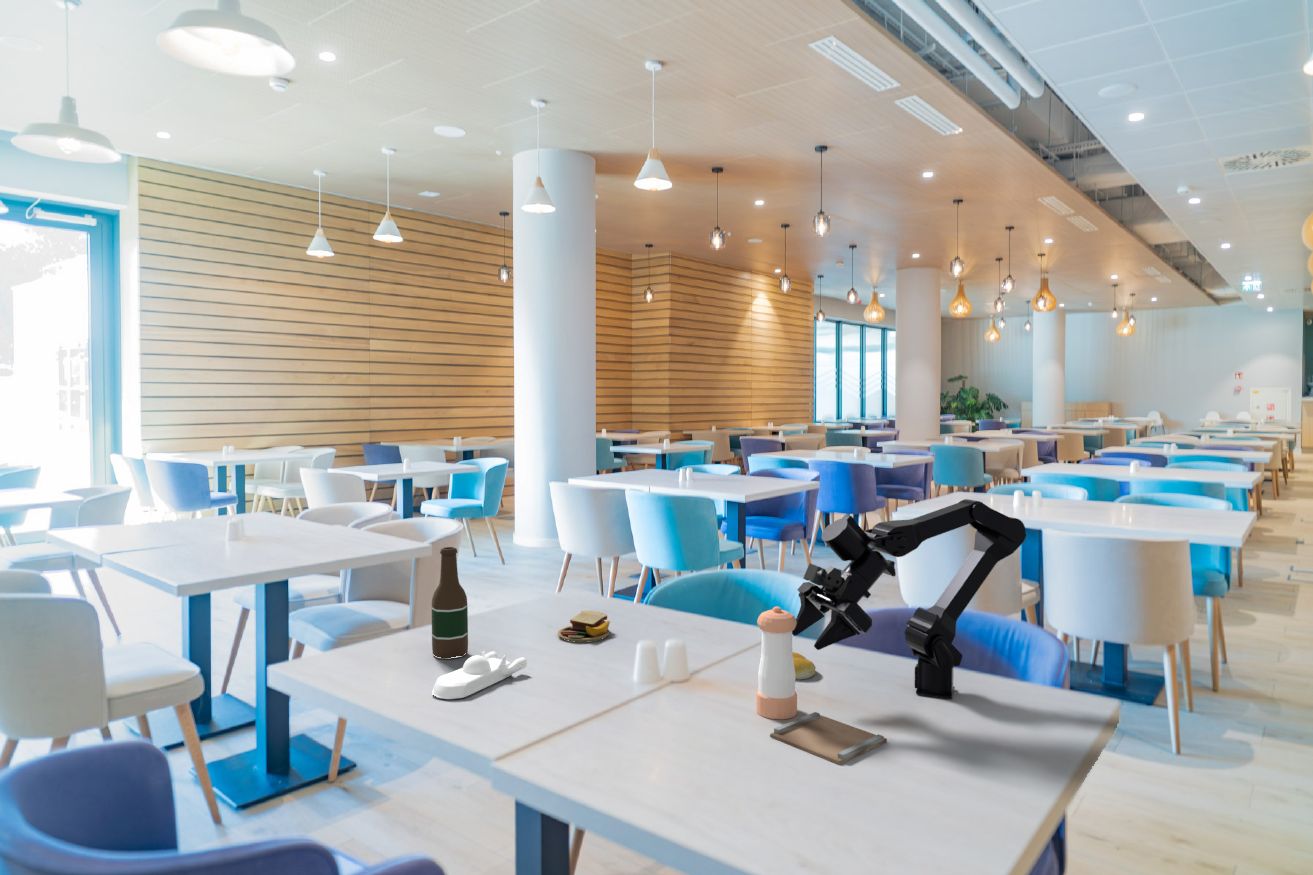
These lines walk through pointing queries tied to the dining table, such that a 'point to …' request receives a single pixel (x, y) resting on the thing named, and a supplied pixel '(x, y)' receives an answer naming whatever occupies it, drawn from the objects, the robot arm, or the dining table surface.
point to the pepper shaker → (776, 666)
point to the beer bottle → (449, 610)
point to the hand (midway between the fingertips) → (803, 640)
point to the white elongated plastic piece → (476, 675)
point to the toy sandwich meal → (586, 627)
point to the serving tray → (827, 737)
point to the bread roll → (802, 666)
